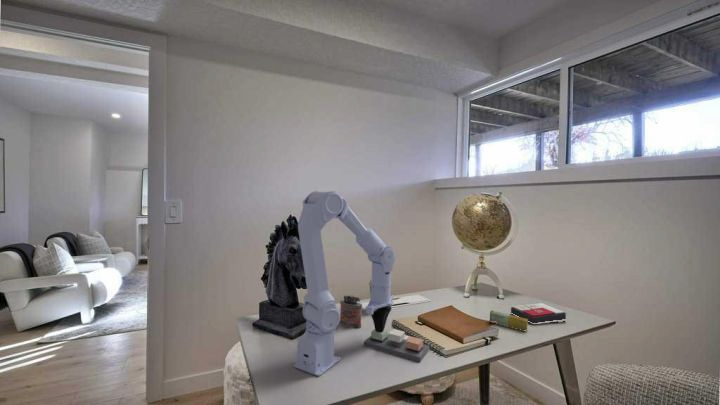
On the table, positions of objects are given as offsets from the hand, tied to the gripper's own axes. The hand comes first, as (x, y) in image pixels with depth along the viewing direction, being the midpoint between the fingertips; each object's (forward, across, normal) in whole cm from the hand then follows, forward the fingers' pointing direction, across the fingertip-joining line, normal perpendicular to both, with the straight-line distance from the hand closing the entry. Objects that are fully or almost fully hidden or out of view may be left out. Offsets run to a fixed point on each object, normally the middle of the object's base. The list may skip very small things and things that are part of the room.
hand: (379, 331), depth 91 cm
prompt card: (+3, +7, -6) cm, 10 cm away
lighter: (+4, +6, +14) cm, 16 cm away
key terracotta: (+2, 0, -11) cm, 11 cm away
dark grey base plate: (+3, 0, -6) cm, 6 cm away
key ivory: (+1, 0, -5) cm, 6 cm away
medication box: (+4, +37, -32) cm, 49 cm away
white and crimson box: (+4, +52, -41) cm, 67 cm away
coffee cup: (+4, +24, +12) cm, 28 cm away
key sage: (+2, 0, 0) cm, 2 cm away
